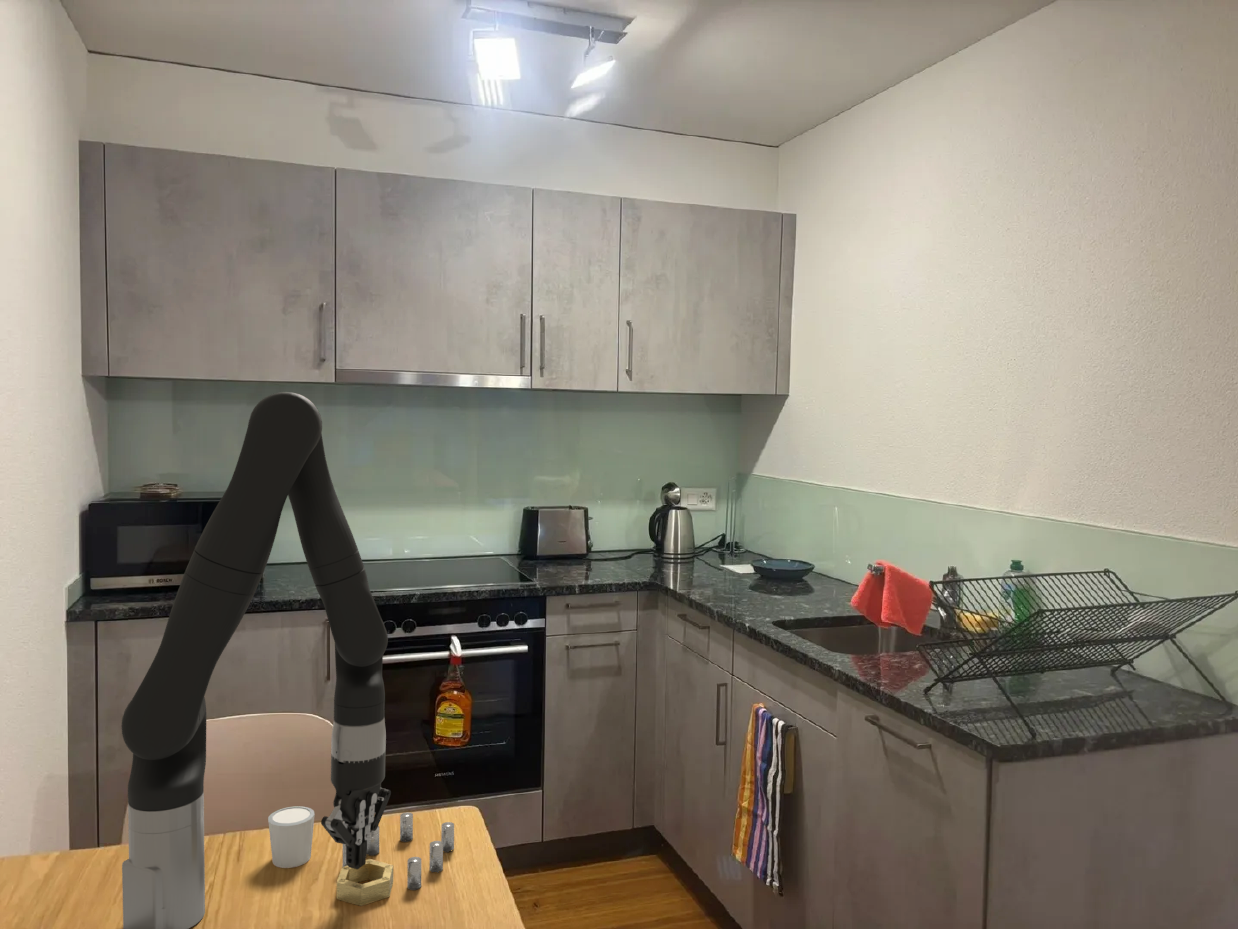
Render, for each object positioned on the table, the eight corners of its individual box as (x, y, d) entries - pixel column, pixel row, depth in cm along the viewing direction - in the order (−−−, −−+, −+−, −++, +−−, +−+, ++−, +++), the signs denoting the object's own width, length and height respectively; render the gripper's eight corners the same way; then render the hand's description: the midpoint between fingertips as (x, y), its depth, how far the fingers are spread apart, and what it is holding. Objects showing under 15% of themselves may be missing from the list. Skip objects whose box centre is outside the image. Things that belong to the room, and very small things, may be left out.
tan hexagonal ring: (372, 909, 128) (372, 892, 128) (324, 895, 132) (324, 879, 132) (405, 884, 135) (405, 868, 135) (358, 872, 139) (358, 856, 138)
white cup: (299, 872, 138) (299, 827, 138) (258, 867, 139) (258, 822, 139) (323, 851, 145) (323, 808, 144) (284, 846, 146) (283, 803, 146)
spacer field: (415, 891, 133) (416, 864, 133) (339, 870, 139) (339, 844, 139) (467, 850, 146) (467, 826, 145) (395, 832, 151) (395, 809, 151)
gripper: (367, 730, 139) (365, 841, 140) (305, 759, 127) (303, 881, 128) (408, 739, 136) (405, 852, 137) (348, 770, 124) (346, 894, 125)
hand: (356, 866), depth 132 cm, fingers closed
